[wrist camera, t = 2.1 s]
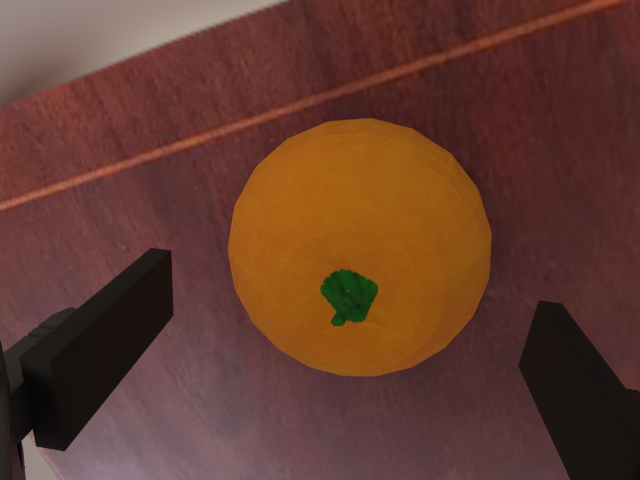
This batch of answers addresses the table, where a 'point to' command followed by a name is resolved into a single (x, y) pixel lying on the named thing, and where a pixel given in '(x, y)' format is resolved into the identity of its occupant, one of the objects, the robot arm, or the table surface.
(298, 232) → the fruit
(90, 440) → the table surface
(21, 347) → the robot arm
